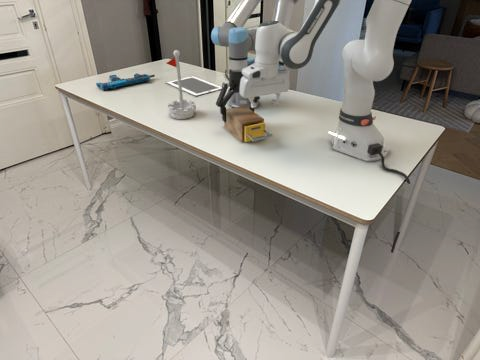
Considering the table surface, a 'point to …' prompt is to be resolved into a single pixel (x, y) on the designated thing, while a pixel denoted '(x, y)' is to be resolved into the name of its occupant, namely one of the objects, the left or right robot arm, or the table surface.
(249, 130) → the drawer
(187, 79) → the tablet
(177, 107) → the flag stand
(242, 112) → the wooden drawer cabinet
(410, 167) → the table surface
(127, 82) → the submachine gun
